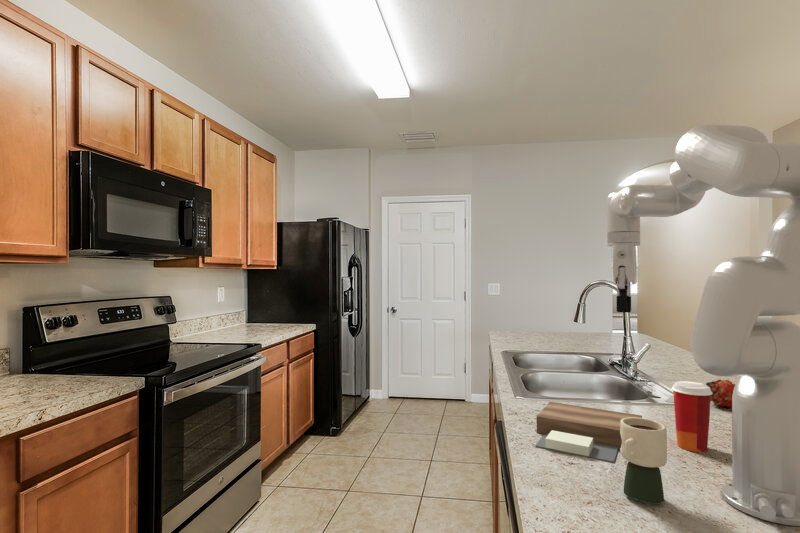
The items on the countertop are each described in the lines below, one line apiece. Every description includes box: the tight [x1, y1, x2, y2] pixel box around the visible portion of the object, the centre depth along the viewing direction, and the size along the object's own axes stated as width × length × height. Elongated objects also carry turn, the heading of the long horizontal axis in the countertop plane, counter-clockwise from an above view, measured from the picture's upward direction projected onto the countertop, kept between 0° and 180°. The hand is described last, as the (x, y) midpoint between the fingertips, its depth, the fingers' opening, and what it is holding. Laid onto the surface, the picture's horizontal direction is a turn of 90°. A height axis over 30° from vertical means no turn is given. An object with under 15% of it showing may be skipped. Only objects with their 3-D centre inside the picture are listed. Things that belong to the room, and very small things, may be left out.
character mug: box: [619, 417, 668, 505], centre depth 77 cm, size 11×7×13 cm, turn 125°
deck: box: [536, 401, 643, 449], centre depth 109 cm, size 14×22×4 cm, turn 59°
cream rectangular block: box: [545, 430, 593, 456], centre depth 99 cm, size 6×9×2 cm, turn 58°
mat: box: [534, 433, 619, 464], centre depth 100 cm, size 9×16×1 cm, turn 59°
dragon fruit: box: [705, 379, 736, 409], centre depth 130 cm, size 8×8×12 cm
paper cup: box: [670, 380, 713, 453], centre depth 100 cm, size 8×8×14 cm
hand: (623, 311), depth 113 cm, fingers closed
